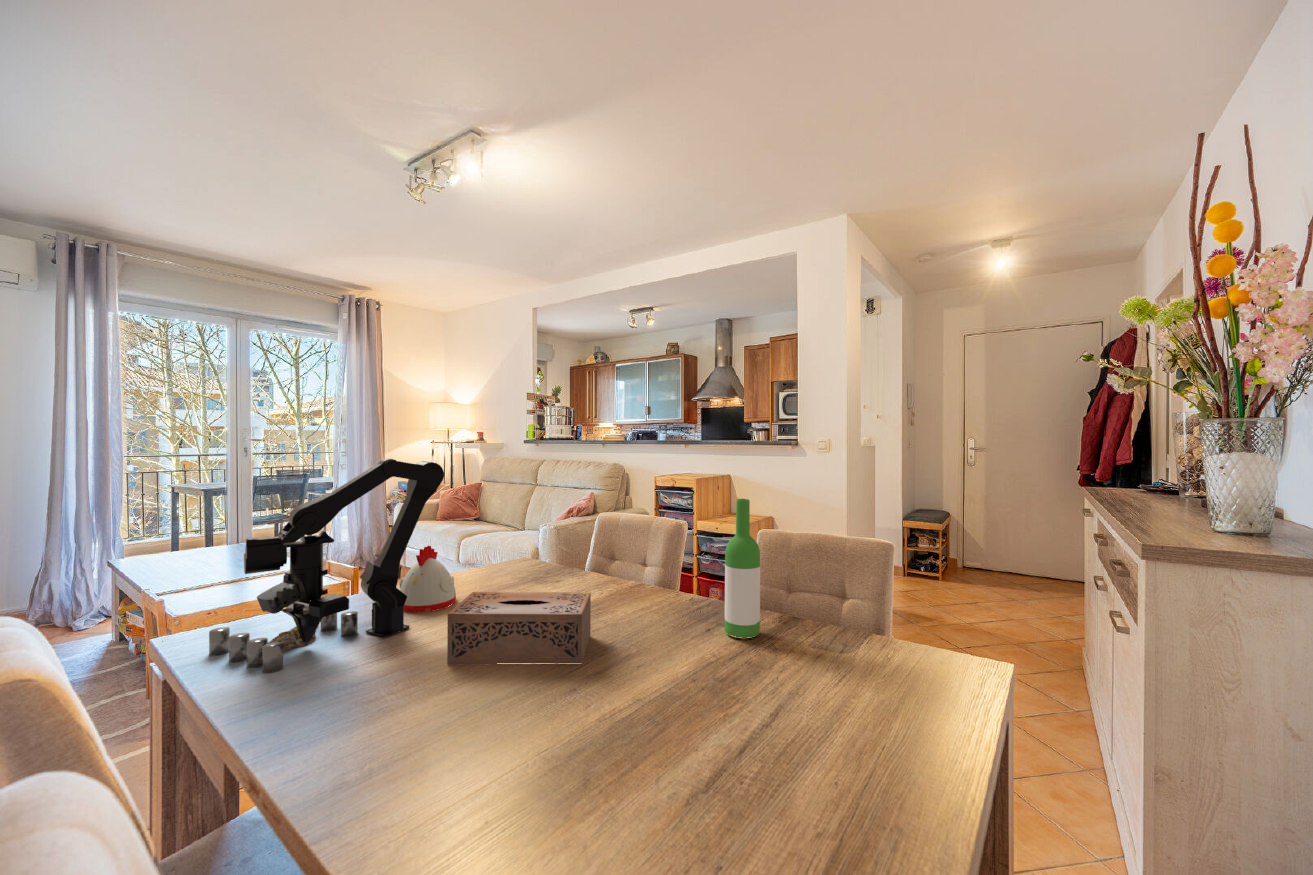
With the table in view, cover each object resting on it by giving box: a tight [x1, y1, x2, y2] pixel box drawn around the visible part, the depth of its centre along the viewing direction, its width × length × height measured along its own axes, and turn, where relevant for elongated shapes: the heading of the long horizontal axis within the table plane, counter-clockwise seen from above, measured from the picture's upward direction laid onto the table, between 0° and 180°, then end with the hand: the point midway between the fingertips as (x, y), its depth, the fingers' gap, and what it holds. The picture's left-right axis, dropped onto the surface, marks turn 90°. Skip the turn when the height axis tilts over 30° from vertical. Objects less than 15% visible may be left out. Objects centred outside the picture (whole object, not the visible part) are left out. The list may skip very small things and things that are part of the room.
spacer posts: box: [208, 610, 359, 674], centre depth 113 cm, size 21×21×4 cm
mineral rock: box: [268, 626, 317, 652], centre depth 114 cm, size 11×4×8 cm
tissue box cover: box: [446, 591, 592, 666], centre depth 111 cm, size 26×14×10 cm, turn 90°
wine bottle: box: [724, 498, 761, 638], centre depth 120 cm, size 8×8×30 cm
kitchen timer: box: [399, 545, 457, 613], centre depth 141 cm, size 14×14×15 cm
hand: (306, 642), depth 111 cm, fingers closed
